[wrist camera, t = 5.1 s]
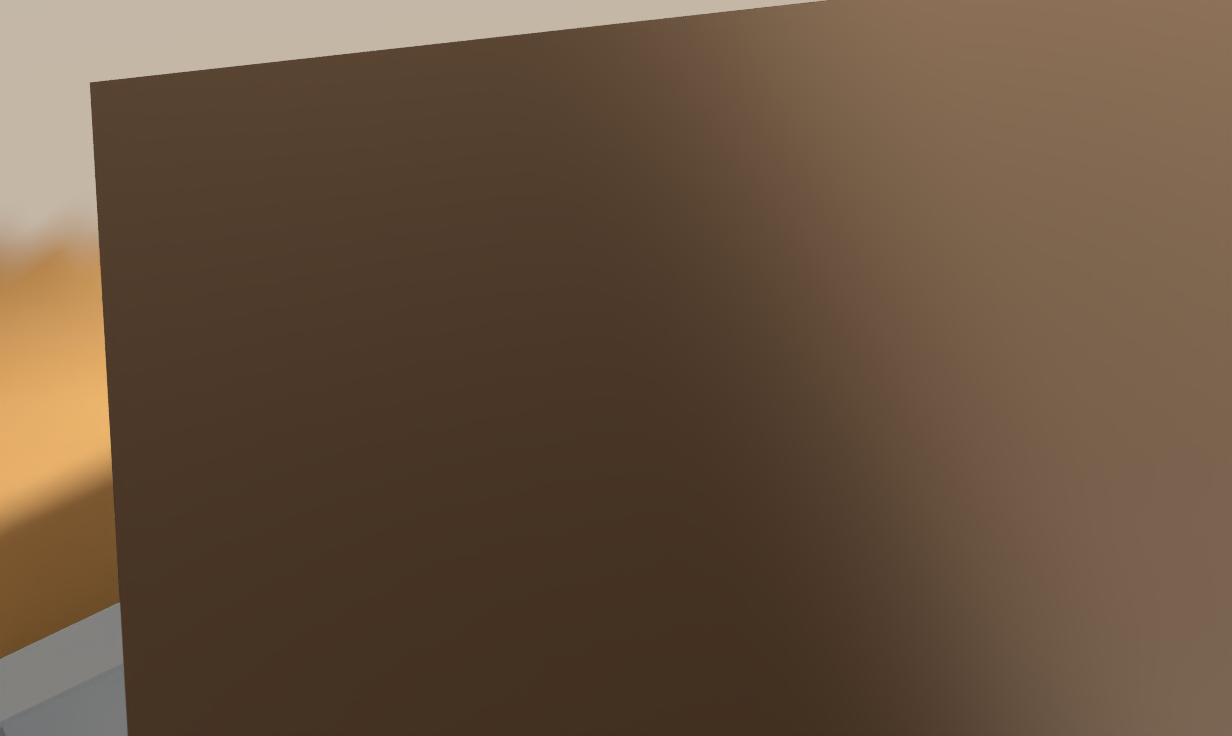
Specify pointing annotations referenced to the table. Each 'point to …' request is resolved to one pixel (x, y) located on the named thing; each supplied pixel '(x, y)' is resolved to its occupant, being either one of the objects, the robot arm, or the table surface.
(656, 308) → the brown wooden block
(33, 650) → the end cap
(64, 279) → the table surface
